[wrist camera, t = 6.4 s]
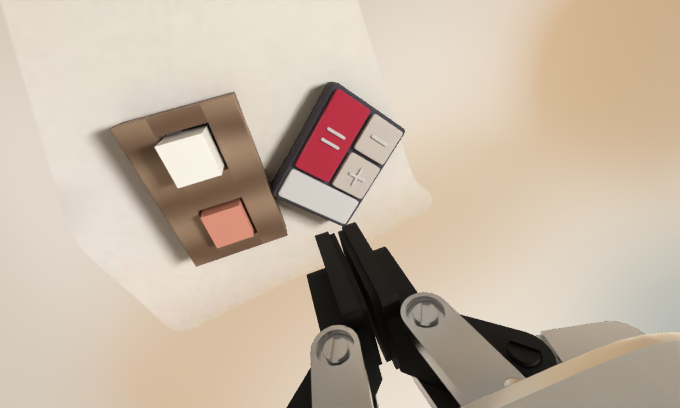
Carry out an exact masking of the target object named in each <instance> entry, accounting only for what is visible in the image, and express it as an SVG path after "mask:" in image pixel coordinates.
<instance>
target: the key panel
mask: <svg viewBox="0 0 680 408" xmlns="http://www.w3.org/2000/svg"><path fill="white" fill-rule="evenodd" d="M204 123H208V124H209V126H210V128H211V130H212V133H213V135H214V137H215V139H216V141H217V144H218V146H219V148H220V150H221V152H222V155H223V157H224V159H225V161H226V162H225V164H224V168H223V172H222V175H220V176H217V177H214V178H211V179H207V180H204V181H201V182H198V183H194V184H191V185H188V186H185V187H181V188H177V186H176V184H175V182H174V181H173V179H172V177H171V175H170V174H169V172H168V170H167V168H166V167H165V165H164V163H163V161H162V160H161V158H160V156H159V154H158V153H157V151H156V149H155V146H156V145H157V144H158V143H159V142H160V141H161V140H162V139H163V138H164V137H165V136H166V134H169V133H173V132H176V131H180V130H183V129H187V128H190V127H194V126H197V125H201V124H204ZM110 130H111V132H112V133H113V135H114V136H115V138H116V139H117V141H118V143H119V144H120V146H121V147H122V149H123V151H124V152H125V154H126V155H127V157H128V159H129V160H130V162H131V163H132V165H133V167H134V168H135V170H136V171H137V173H138V175H139V176H140V178H141V179H142V181H143V182H144V184H145V186H146V187H147V189H148V190H149V192H150V194H151V195H152V197H153V198H154V200H155V202H156V203H157V205H158V206H159V208H160V210H161V211H162V213H163V214H164V216H165V218H166V219H167V221H168V222H169V224H170V225H171V227H172V229H173V230H174V232H175V233H176V235H177V237H178V238H179V240H180V241H181V243H182V245H183V246H184V248H185V249H186V251H187V253H188V254H189V256H190V257H191V259H192V261H193V262H194V264H195V265H196V267H197V266H199V265H202V264H205V263H208V262H211V261H214V260H217V259H220V258H223V257H226V256H229V255H232V254H235V253H238V252H240V251H243V250H246V249H249V248H252V247H255V246H258V245H261V244H264V243H267V242H270V241H273V240H276V239H279V238H282V237H284V236H287V230H286V225H285V222H284V219H283V217H282V214H281V211H280V209H279V206H278V204H277V201H276V198H275V196H274V195H273V191H272V188H271V185H270V183H269V180H268V178H267V175H266V172H265V170H264V167H263V165H262V162H261V160H260V157H259V154H258V152H257V149H256V147H255V144H254V141H253V139H252V136H251V134H250V131H249V128H248V126H247V123H246V121H245V118H244V115H243V113H242V110H241V108H240V105H239V102H238V100H237V97H236V95H235V92H232V93H228V94H225V95H221V96H217V97H214V98H210V99H206V100H203V101H199V102H195V103H192V104H188V105H185V106H181V107H177V108H174V109H170V110H166V111H163V112H159V113H155V114H152V115H148V116H145V117H141V118H137V119H134V120H130V121H126V122H123V123H120V124H119V125H117V126H115V127H113V128H111V129H110ZM240 197H242V199H243V201H244V203H245V206H246V208H247V210H248V212H249V214H250V217H251V219H252V221H253V232H254V236H253V237H250V238H247V239H244V240H241V241H238V242H235V243H232V244H229V245H226V246H223V247H220V248H217V247H216V246H215V244H214V242H213V240H212V238H211V237H210V235H209V233H208V231H207V229H206V228H205V226H204V224H203V222H202V220H201V219H200V217H201V214H202V211H203V209H206V208H209V207H212V206H215V205H218V204H221V203H225V202H228V201H231V200H234V199H237V198H240Z"/></svg>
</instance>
